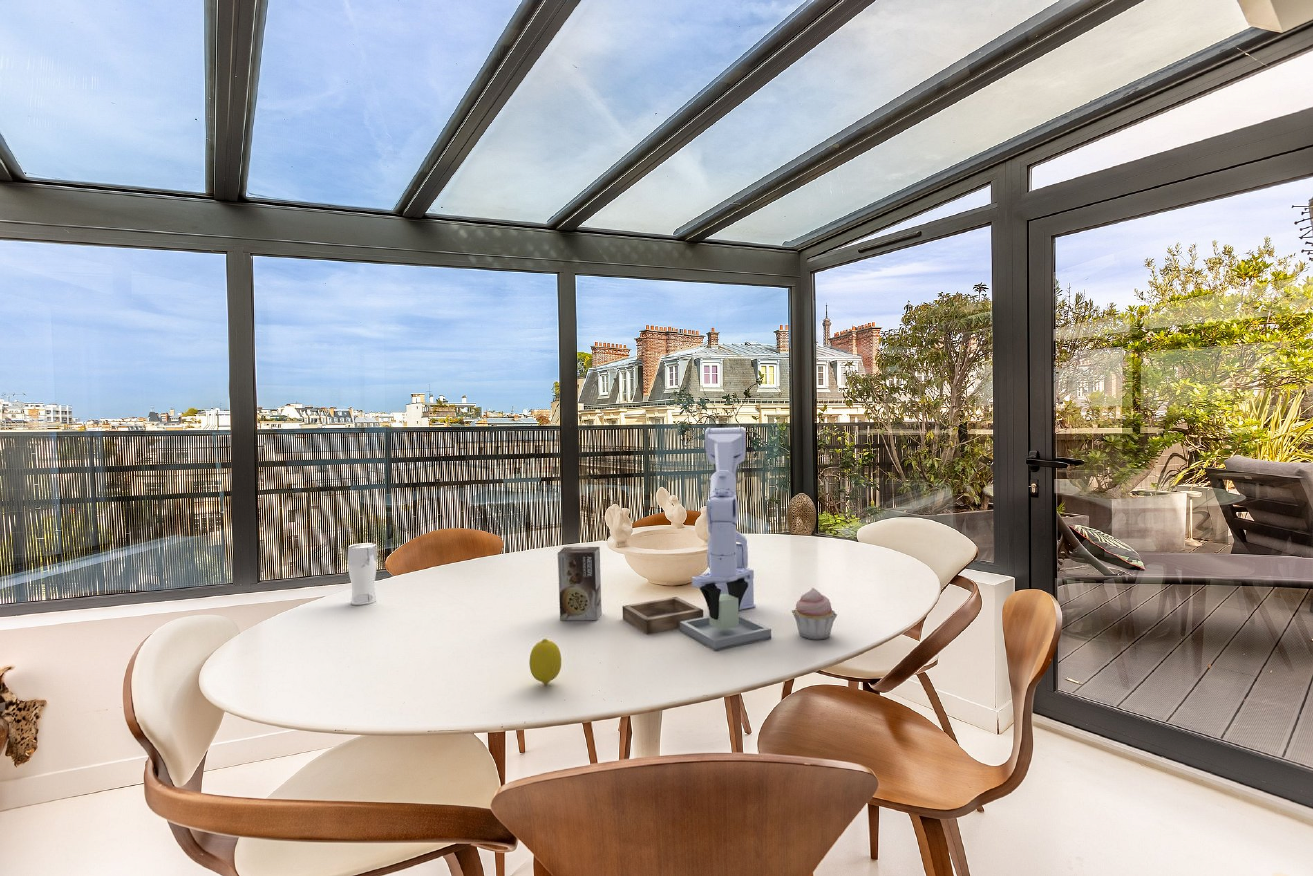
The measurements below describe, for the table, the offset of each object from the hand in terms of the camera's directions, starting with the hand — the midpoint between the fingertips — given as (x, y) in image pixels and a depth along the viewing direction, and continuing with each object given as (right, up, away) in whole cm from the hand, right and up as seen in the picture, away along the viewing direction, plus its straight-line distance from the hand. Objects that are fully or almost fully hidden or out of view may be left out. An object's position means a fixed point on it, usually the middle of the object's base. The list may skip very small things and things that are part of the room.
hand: (724, 616), depth 132 cm
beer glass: (-92, -5, +31) cm, 97 cm away
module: (0, -2, 0) cm, 2 cm away
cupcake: (+19, -4, -1) cm, 19 cm away
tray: (0, -4, 0) cm, 4 cm away
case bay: (-13, -4, +10) cm, 17 cm away
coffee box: (-32, -5, +15) cm, 36 cm away
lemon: (-34, -5, -23) cm, 42 cm away
